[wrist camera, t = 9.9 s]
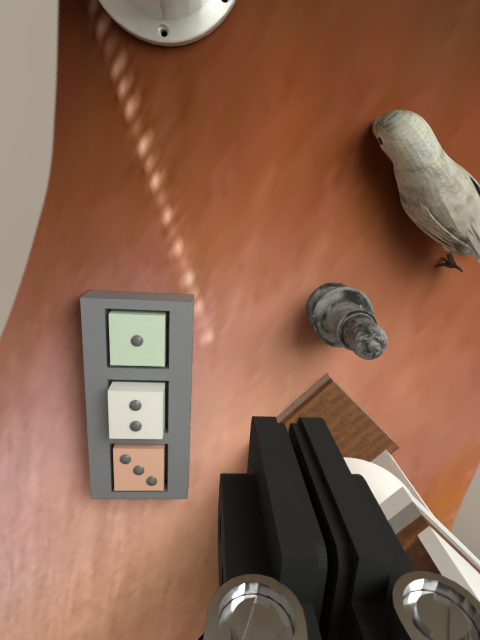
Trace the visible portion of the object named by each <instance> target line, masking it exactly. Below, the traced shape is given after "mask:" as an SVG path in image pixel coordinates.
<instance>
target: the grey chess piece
mask: <svg viewBox="0 0 480 640" xmlns="http://www.w3.org/2000/svg"><path fill="white" fill-rule="evenodd" d="M307 316H308V319H309V321H310V322H311V324H312V326H313V329H314V332H315V333H316V335H317V336H318V338H319V339H320V340H321V341H323V342H324V343H325V344H328V345H330V346H333V347H344V348H346V349H348V350H351V351H353V352H354V353H355V354H356V355H358V356H359V357H361V358H363V359H368V360H371V359H375V358H378V357H379V356H380V355H382V354H383V352H384V351H385V349H386V347H387V343H388V339H387V336H386V333H385V332H384V330H383V329H382V328H381V327H379V326H378V325H377V322H376V320H375V318H374V312H373V307H372V303H371V302H370V300H369V298H368V297H367V296H366V295H365V294H364V293H363V292H361V291H359V290H357V289H355V288H350V287H348V286H346V285H344V284H341V283H335V282H334V283H327V284H325V285H322V286H320V287H319V288H317V289H316V290H315V291H314V292H313V293H312V295H311V296H310V298H309V300H308V303H307Z"/></svg>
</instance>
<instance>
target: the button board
mask: <svg viewBox="0 0 480 640" xmlns="http://www.w3.org/2000/svg"><path fill="white" fill-rule="evenodd" d="M80 305H81V323H82V342H83V361H84V379H85V398H86V417H87V435H88V454H89V472H90V491H91V499H188V484H189V456H190V421H191V386H192V352H193V317H194V295H191V294H167V293H143V292H119V291H95V290H89V291H88V292H87V293H85V294H84V295H83V296H82V297H80ZM112 309H133V310H160V311H167V359H166V363H165V366H128V365H110V339H109V313H110V311H111V310H112ZM112 382H157V383H165V429H164V434H163V439H109V413H108V389H109V387H110V386H111V384H112ZM115 443H121V444H166V472H165V484H164V491H114V461H113V448H114V445H115Z"/></svg>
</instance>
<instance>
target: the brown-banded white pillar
mask: <svg viewBox="0 0 480 640" xmlns="http://www.w3.org/2000/svg"><path fill="white" fill-rule="evenodd" d="M299 417H321V418H323V419H324V421H325V423H326V425H327V427H328V429H329V431H330V433H331V435H332V437H333V438H334V440H335V442H336V444H337V446H338V448H339V450H340V452H341V454H342V456H343V458H344V460H345V462H346V464H347V466H348V468H349V470H350V472H351V473H352V474H360V475H362V476H363V477H364V479H365V480H366V482H367V484H368V485H369V487H370V489H371V491H372V493H373V495H374V496H375V498H376V500H377V502H378V504H379V505H380V507H381V509H382V511H383V513H384V514H385V516H386V518H387V520H388V522H389V524H390V525H391V527H392V529H393V531H394V533H395V534H396V536H397V538H398V540H399V542H400V543H401V545H402V547H403V549H404V551H405V553H406V554H407V556H408V558H409V560H410V562H411V563H412V565H413V567H414V569H415V571H428V572H432V573H436V574H440V575H442V576H444V577H446V578H449V579H451V580H453V581H455V582H456V583H458V584H459V585H461V586H462V587H464V588H465V589H466V590H468V591H469V592H470V593H471V594H472V595H473V596H474V597H475V598H476V599H477V600H478V601H479V602H480V561H479V560H478V558H476V557H475V556H474V555H473V554H472V553H471V552H470V551H469V550H468V549H467V548H466V547H465V546H464V545H463V544H462V543H461V542H460V541H459V540H458V539H457V538H456V537H455V536H454V535H453V534H452V533H451V532H450V531H449V530H448V529H447V528H446V527H444V526H443V525H442V524H441V523H440V522H439V521H438V520H437V519H436V518H435V517H434V516H433V514H432V513H431V511H430V510H429V508H428V507H427V506H426V504H425V503H424V501H423V500H422V498H421V497H420V496H419V494H418V493H417V491H416V490H415V489H414V487H413V486H412V484H411V483H410V481H409V480H408V479H407V477H406V476H405V474H404V473H403V471H402V470H401V469H400V467H399V466H398V464H397V463H396V461H395V460H394V459H393V457H392V456H391V454H392V453H393V452H394V451H396V450H397V449H398V448H399V447H398V446H397V445H396V443H395V442H394V441H393V439H392V438H391V437H390V436H389V435H388V434H387V433H386V432H385V431H384V430H383V429H382V428H381V427H380V426H379V425H378V424H377V423H376V422H375V421H374V420H373V419H372V418H371V417H370V416H369V415H368V414H367V413H366V412H365V411H364V410H363V409H362V408H361V407H360V406H359V405H358V404H357V403H356V402H355V401H354V400H353V399H352V398H351V397H350V396H349V395H348V393H347V392H346V391H345V390H344V389H343V388H342V387H341V386H340V385H339V384H338V383H337V382H336V381H335V380H334V379H333V378H332V377H331V376H330V375H329V374H328V373H327V374H326V375H325V376H324V377H323V378H321V379H320V380H319V381H318V382H317V383H316V384H315V385H313V386H312V387H311V388H310V389H309V390H308V391H307V392H305V393H304V394H303V395H302V396H301V397H300V398H299V399H297V400H296V401H295V402H294V403H293V404H292V405H291V406H289V407H288V408H287V409H286V410H285V411H284V412H283V413H281V414H280V415H279V416H278V417H277V418H276V419H277V422H278V423H285V426H286V429H287V432H289V426H290V424H291V423H297V420H298V418H299Z"/></svg>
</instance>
